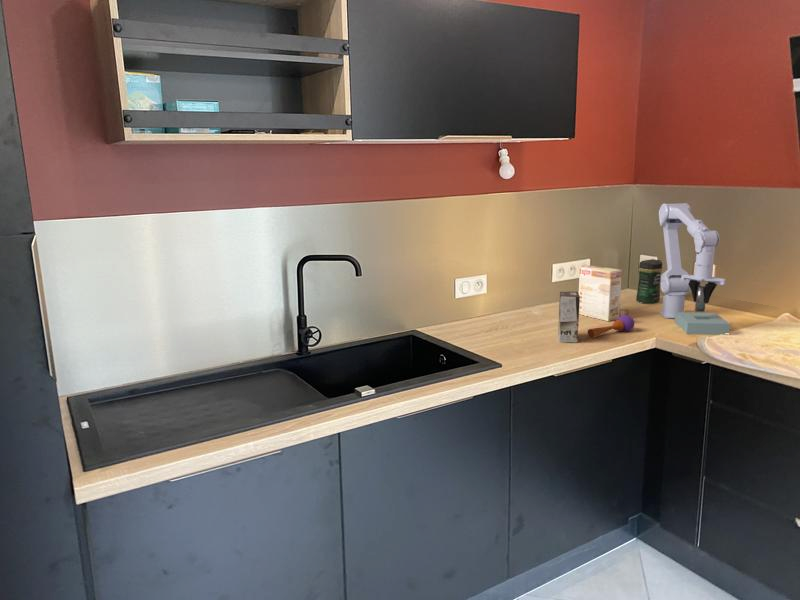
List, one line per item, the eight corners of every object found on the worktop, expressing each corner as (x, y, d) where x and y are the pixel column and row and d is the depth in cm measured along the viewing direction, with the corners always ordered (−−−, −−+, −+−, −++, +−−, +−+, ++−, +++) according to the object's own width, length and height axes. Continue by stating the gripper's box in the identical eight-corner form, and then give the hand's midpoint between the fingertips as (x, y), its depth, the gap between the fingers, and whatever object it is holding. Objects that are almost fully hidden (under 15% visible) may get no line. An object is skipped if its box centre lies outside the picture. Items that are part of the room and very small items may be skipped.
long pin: (694, 309, 228) (696, 285, 226) (704, 310, 227) (706, 285, 225) (695, 311, 226) (697, 286, 224) (704, 312, 224) (707, 287, 222)
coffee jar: (649, 305, 265) (652, 261, 261) (633, 302, 272) (635, 259, 268) (663, 302, 271) (666, 259, 266) (646, 299, 277) (649, 257, 273)
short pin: (618, 321, 240) (619, 309, 239) (626, 321, 239) (627, 309, 238) (619, 323, 237) (620, 311, 236) (628, 324, 236) (629, 311, 235)
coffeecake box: (619, 319, 244) (622, 269, 240) (607, 321, 240) (610, 271, 236) (588, 311, 256) (590, 264, 252) (576, 314, 252) (579, 266, 248)
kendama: (583, 325, 222) (623, 313, 231) (585, 341, 222) (626, 329, 231) (595, 325, 216) (636, 313, 225) (598, 342, 217) (639, 329, 226)
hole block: (674, 322, 237) (675, 312, 236) (714, 323, 235) (715, 313, 234) (686, 333, 222) (687, 323, 221) (729, 334, 220) (730, 323, 219)
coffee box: (578, 342, 213) (580, 296, 210) (558, 342, 215) (560, 296, 211) (576, 335, 222) (578, 291, 219) (557, 335, 223) (559, 290, 220)
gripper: (679, 264, 225) (676, 301, 228) (722, 268, 215) (718, 307, 218) (686, 261, 230) (683, 297, 233) (729, 265, 220) (725, 303, 223)
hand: (701, 302), depth 226 cm, fingers closed on long pin, 3 cm apart
